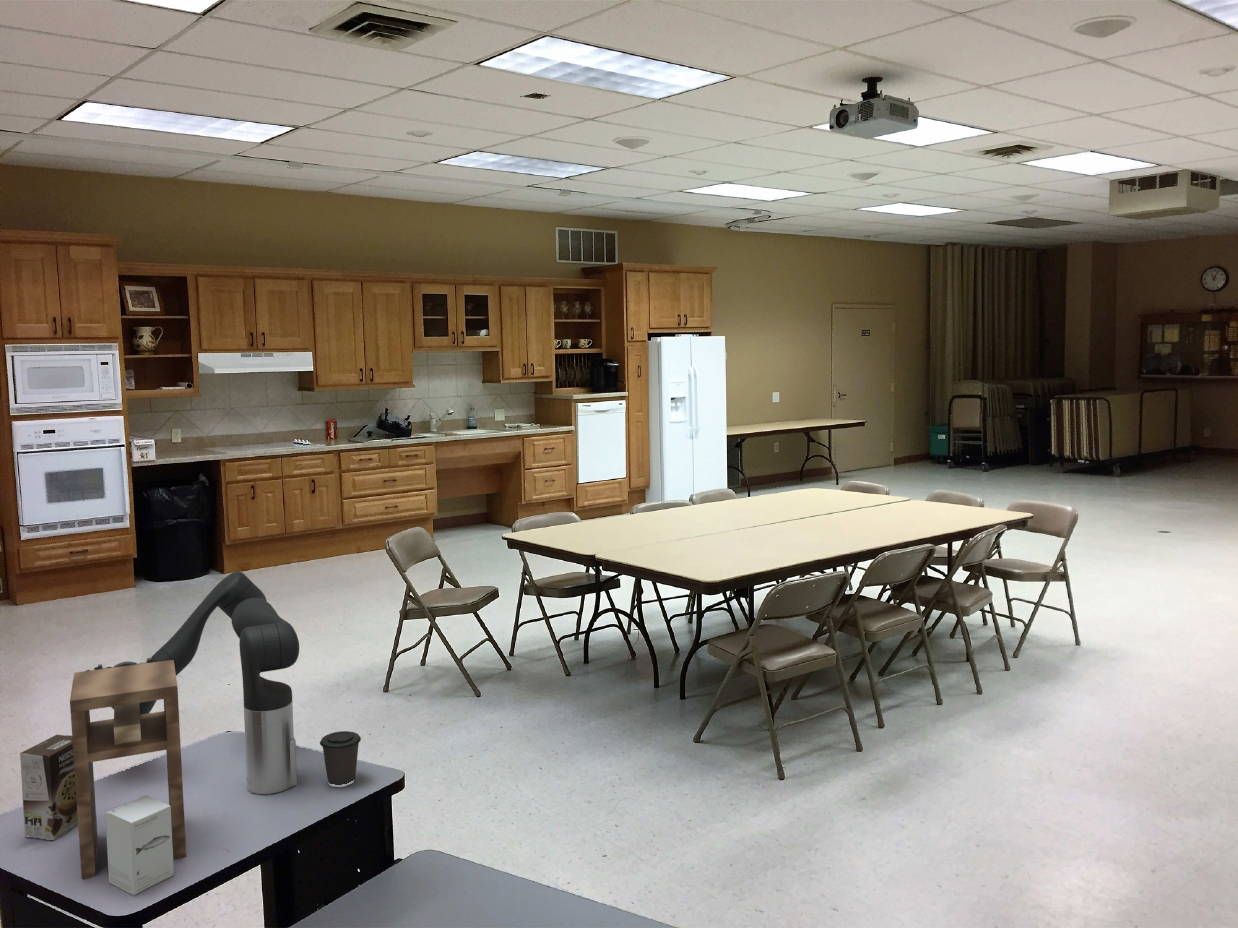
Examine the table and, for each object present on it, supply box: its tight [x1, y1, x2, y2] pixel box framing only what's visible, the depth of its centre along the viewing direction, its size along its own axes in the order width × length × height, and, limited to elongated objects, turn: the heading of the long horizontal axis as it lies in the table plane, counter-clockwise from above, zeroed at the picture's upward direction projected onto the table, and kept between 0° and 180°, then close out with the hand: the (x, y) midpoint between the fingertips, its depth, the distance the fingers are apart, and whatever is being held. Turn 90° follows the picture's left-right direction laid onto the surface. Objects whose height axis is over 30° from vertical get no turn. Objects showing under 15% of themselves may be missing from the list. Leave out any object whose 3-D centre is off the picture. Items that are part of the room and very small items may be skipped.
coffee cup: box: [319, 730, 362, 785], centre depth 197 cm, size 8×8×10 cm
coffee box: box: [19, 734, 78, 841], centre depth 177 cm, size 9×6×16 cm
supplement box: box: [104, 795, 175, 896], centre depth 160 cm, size 7×7×13 cm
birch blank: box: [113, 703, 141, 745], centre depth 173 cm, size 4×20×3 cm, turn 27°
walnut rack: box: [69, 660, 187, 880], centre depth 169 cm, size 16×15×31 cm
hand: (124, 666), depth 188 cm, fingers open, 8 cm apart
